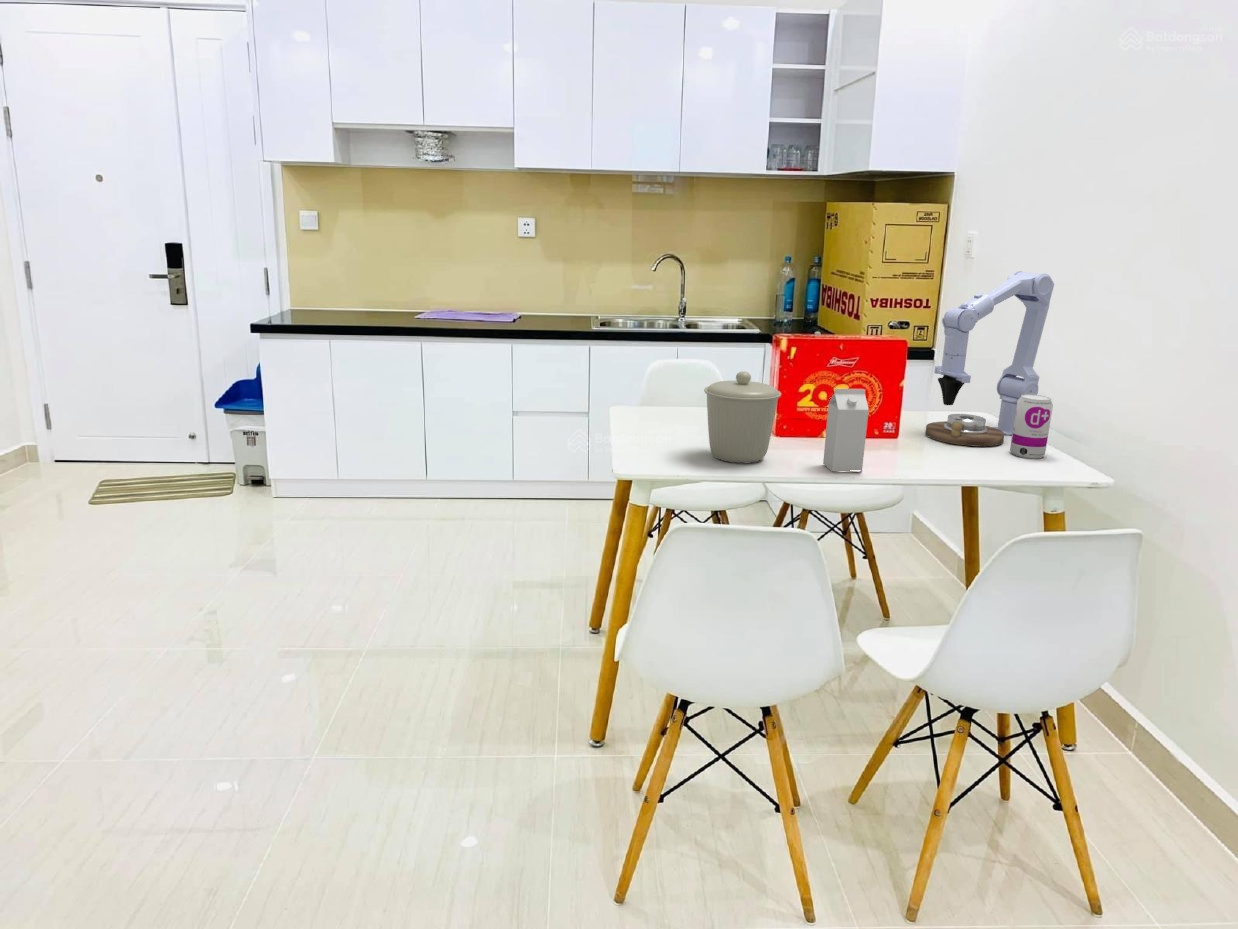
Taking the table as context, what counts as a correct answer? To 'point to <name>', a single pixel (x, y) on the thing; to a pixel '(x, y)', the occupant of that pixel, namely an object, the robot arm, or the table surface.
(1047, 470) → the table surface
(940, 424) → the turntable
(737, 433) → the canister
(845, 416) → the milk carton
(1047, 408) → the supplement can
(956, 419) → the cover
